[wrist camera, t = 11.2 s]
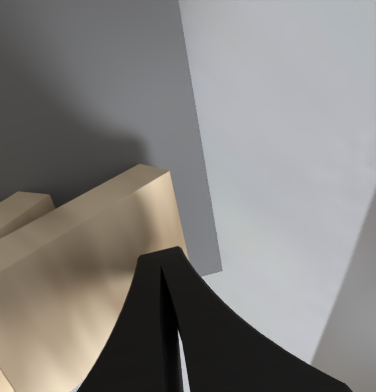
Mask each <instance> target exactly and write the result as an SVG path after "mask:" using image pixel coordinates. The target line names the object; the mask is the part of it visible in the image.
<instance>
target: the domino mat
mask: <svg viewBox="0 0 376 392" xmlns="http://www.w3.org/2000/svg"><path fill="white" fill-rule="evenodd" d="M138 164H144V165H148V166H152V167H156V168H160V169H164V170H168V171H170V176H171V180H172V185H173V190H174V194H175V199H176V203H177V208H178V212H179V217H180V222H181V226H182V231H183V235H184V240H185V244H186V249H187V254H188V258H189V262H190V263H191V265H192V266H193V268H194V269H195V270H196V272H197V273H198V274H199V275H200V277H201V276H205V275H209V274H213V273H217V272H220V271H222V265H221V259H220V252H219V246H218V240H217V234H216V228H215V222H214V216H213V210H212V204H211V198H210V192H209V186H208V179H207V173H206V167H205V161H204V155H203V149H202V143H201V137H200V131H199V125H198V119H197V112H196V106H195V100H194V94H193V88H192V82H191V76H190V70H189V64H188V58H187V52H186V46H185V39H184V33H183V27H182V21H181V15H180V9H179V3H178V0H0V202H2V201H3V200H5V199H7V198H8V197H10V196H11V195H13V194H15V193H16V192H18V191H20V192H30V193H40V194H50V197H51V199H52V202H53V204H54V207H55V209H56V208H58V207H60V206H62V205H64V204H66V203H68V202H69V201H71V200H73V199H75V198H77V197H79V196H81V195H82V194H84V193H86V192H88V191H90V190H92V189H93V188H95V187H97V186H99V185H101V184H103V183H105V182H106V181H108V180H110V179H112V178H114V177H116V176H118V175H119V174H121V173H123V172H125V171H127V170H129V169H130V168H132V167H134V166H136V165H138Z"/></svg>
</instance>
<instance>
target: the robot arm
mask: <svg viewBox="0 0 376 392" xmlns="http://www.w3.org/2000/svg"><path fill="white" fill-rule="evenodd" d="M177 327H178V328H177ZM178 331H179V334H180V337H181V340H182V344H183V350H184V356H185V362H186V368H187V374H188V380H189V386H190V392H352V390H351V389H350V388H349V387H348V386H347V385H346V384H345V383H343V382H341V381H339V380H337V379H335V378H333V377H331V376H329V375H327V374H325V373H323V372H322V371H320V370H318V369H316V368H314V367H312V366H311V365H309V364H307V363H306V362H304V361H302V360H301V359H299V358H297V357H296V356H294V355H292V354H291V353H289V352H287V351H286V350H284V349H283V348H282V347H280V346H279V345H277V344H276V343H274V342H273V341H271V340H270V339H268V338H267V337H265V336H264V335H263V334H261V333H260V332H258V331H257V330H256V329H255V328H253V327H252V326H251V325H249V324H248V323H247V322H246V321H244V320H243V319H242V318H241V317H240V316H239V315H237V314H236V313H235V312H234V311H233V310H232V309H231V308H230V307H229V306H227V305H226V304H225V303H224V302H223V301H222V300H221V299H220V298H219V297H218V296H217V295H216V294H215V293H214V291H213V290H212V289H211V288H210V287H209V286H208V285H207V284H206V282H205V281H204V280H203V279H202V278H201V277H200V275H199V274H198V273H197V272H196V270H195V269H194V268H193V266H192V265H191V263H190V262H189V260H188V259H187V257H186V256H185V254H184V252H183V249H182V248H181V247H179V246H175V247H171V248H167V249H163V250H159V251H155V252H151V253H147V254H143V255H140V256H139V257H138V259H137V264H136V268H135V272H134V276H133V279H132V282H131V285H130V288H129V291H128V294H127V297H126V299H125V302H124V305H123V307H122V310H121V312H120V314H119V316H118V319H117V321H116V323H115V326H114V328H113V330H112V332H111V334H110V336H109V338H108V340H107V342H106V344H105V346H104V348H103V349H102V351H101V353H100V355H99V357H98V358H97V360H96V362H95V364H94V365H93V367H92V368H91V370H90V372H89V373H88V375H87V377H86V378H85V380H84V381H83V383H82V384H81V386H80V387H79V389H78V390H77V392H184V391H183V380H182V369H181V359H180V348H179V338H178Z"/></svg>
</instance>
